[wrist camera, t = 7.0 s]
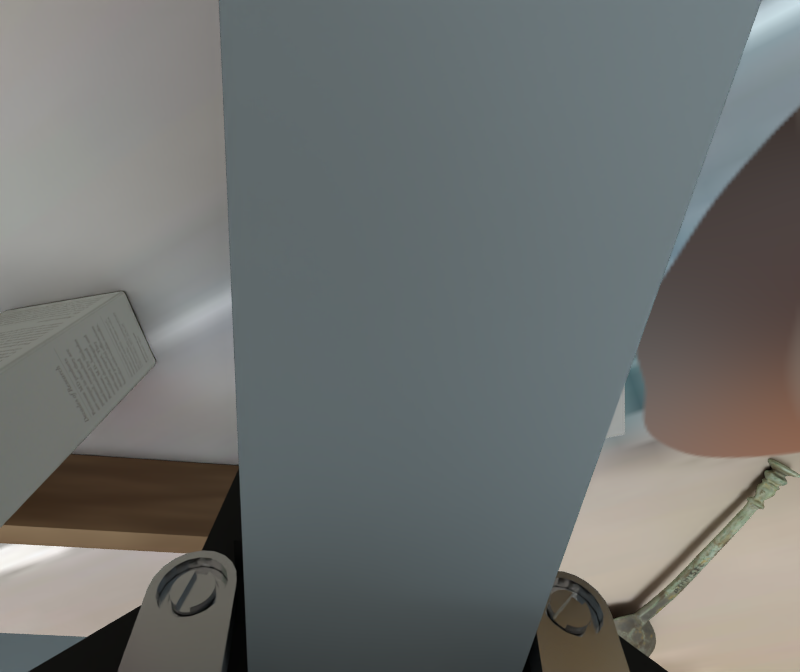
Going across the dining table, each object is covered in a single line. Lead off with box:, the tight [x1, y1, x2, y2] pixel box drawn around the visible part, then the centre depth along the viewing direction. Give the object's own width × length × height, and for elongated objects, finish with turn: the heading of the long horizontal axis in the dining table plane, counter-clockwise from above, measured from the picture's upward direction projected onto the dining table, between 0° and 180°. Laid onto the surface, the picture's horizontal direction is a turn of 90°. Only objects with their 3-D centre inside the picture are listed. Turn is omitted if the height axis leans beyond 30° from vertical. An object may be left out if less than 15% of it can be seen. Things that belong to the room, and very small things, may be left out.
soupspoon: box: [613, 459, 800, 657], centre depth 30 cm, size 22×3×7 cm
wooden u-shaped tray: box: [0, 454, 239, 553], centre depth 22 cm, size 13×24×5 cm, turn 84°
